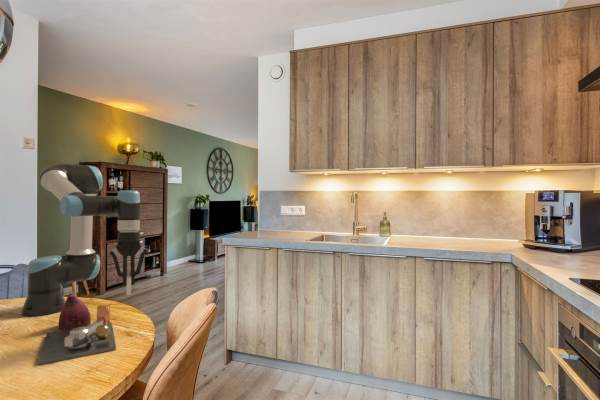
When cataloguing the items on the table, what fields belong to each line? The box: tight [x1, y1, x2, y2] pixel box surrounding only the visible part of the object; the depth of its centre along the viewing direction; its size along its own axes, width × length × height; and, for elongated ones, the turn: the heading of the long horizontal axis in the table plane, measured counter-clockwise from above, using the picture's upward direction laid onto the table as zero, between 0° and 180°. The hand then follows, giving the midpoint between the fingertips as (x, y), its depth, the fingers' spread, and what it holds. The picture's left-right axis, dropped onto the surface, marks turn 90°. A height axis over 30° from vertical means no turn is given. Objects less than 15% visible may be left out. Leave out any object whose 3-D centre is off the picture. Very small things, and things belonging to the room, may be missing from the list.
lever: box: [65, 304, 111, 346], centre depth 115 cm, size 22×5×7 cm, turn 2°
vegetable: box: [57, 292, 92, 331], centre depth 129 cm, size 10×10×15 cm
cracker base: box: [37, 322, 117, 366], centre depth 115 cm, size 25×20×7 cm
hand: (128, 294), depth 127 cm, fingers closed
